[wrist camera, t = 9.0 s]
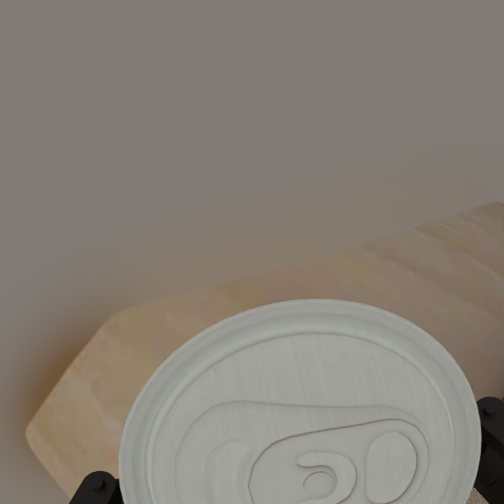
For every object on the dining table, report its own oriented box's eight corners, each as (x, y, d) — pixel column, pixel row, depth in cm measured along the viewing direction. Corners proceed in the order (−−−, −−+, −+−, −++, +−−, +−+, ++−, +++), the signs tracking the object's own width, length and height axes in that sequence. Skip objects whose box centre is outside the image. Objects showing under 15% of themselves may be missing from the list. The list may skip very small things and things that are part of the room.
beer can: (240, 382, 17) (112, 283, 4) (334, 375, 17) (466, 257, 4) (241, 469, 14) (116, 593, 1) (338, 463, 13) (477, 564, 1)
